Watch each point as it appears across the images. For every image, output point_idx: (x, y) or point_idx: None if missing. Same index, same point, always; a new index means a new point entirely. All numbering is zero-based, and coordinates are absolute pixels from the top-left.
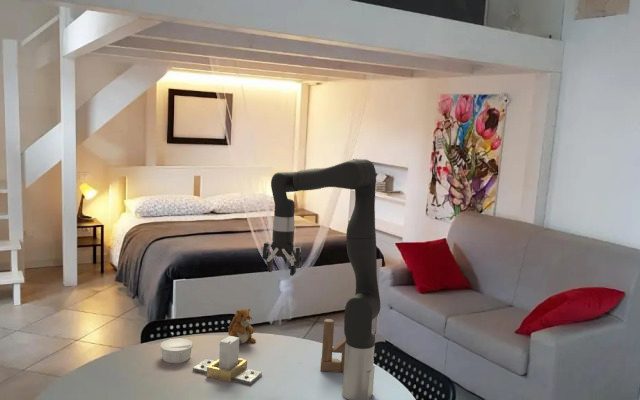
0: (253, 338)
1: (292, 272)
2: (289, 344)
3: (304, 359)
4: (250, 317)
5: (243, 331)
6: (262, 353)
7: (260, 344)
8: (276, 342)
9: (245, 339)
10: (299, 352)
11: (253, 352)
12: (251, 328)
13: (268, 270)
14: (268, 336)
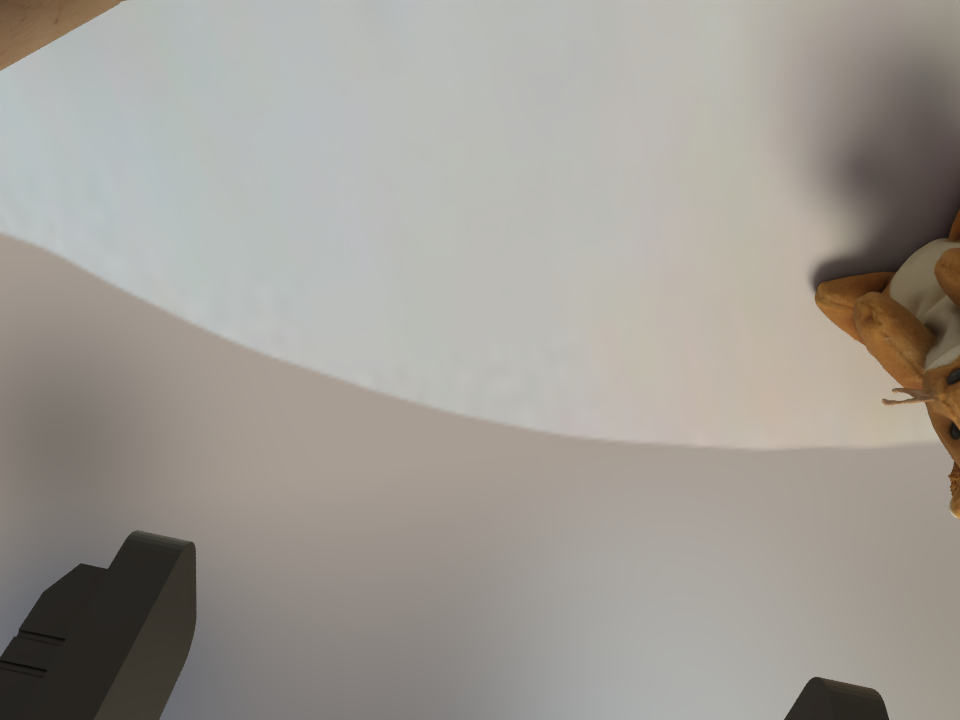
0: (840, 308)
1: (97, 614)
2: (541, 321)
3: (357, 86)
4: (927, 394)
5: (958, 251)
6: (723, 103)
7: (768, 268)
8: (646, 331)
9: (910, 265)
10: (431, 203)
11: (806, 101)
12: (883, 325)
13: (881, 717)
14: (727, 414)
